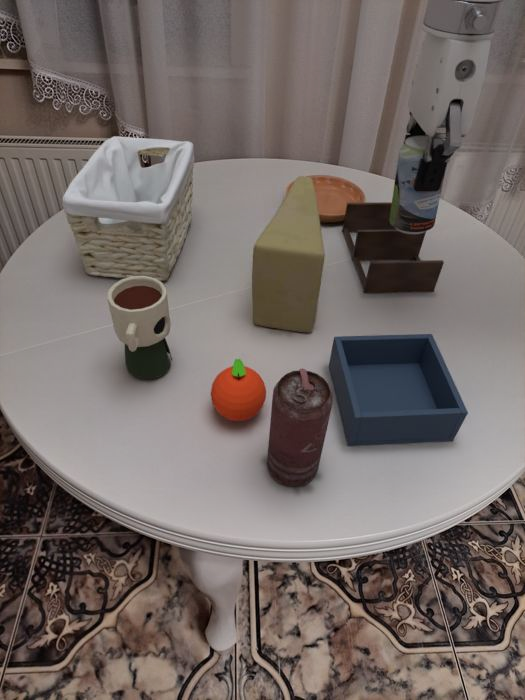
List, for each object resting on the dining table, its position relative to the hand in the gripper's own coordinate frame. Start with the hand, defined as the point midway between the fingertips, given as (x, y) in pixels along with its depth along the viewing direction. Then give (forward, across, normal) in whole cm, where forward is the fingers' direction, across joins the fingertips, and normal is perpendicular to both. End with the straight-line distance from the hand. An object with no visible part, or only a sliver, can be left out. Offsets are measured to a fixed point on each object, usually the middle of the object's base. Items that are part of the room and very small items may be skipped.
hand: (418, 176), depth 66 cm
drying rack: (+22, +13, -3) cm, 26 cm away
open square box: (+22, -19, +4) cm, 30 cm away
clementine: (+23, -20, +24) cm, 38 cm away
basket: (+22, +18, +40) cm, 49 cm away
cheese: (+23, +6, +14) cm, 27 cm away
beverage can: (+7, 0, 0) cm, 7 cm away
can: (+23, -28, +18) cm, 40 cm away
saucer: (+23, +32, +5) cm, 39 cm away
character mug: (+22, -12, +36) cm, 44 cm away
